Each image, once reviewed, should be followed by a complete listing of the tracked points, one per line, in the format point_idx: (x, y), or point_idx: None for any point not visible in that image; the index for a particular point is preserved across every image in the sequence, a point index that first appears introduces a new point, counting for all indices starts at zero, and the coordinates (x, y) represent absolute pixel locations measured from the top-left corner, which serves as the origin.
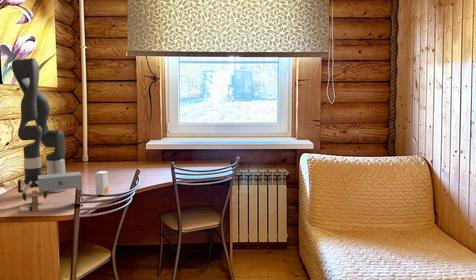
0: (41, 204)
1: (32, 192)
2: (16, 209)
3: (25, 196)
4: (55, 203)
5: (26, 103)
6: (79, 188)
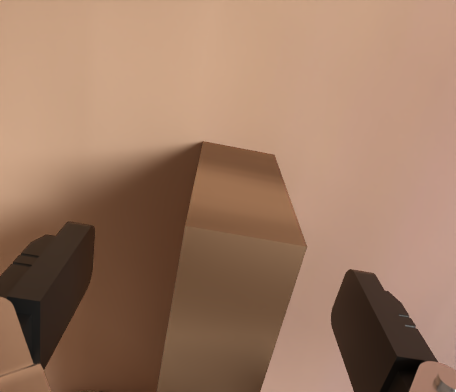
0: None
1: (171, 373)
2: None
3: (58, 328)
4: None
5: None
6: None
